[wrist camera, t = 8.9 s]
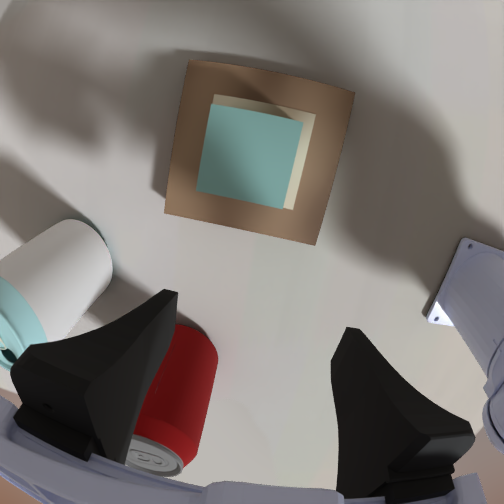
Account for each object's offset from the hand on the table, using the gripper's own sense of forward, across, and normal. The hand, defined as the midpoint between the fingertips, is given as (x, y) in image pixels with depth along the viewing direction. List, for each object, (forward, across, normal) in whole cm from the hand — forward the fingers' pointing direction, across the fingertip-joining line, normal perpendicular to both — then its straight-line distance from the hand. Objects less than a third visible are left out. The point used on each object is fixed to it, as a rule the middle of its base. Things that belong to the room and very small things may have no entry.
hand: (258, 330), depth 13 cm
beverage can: (+11, +5, +12) cm, 17 cm away
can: (+11, +15, +5) cm, 19 cm away
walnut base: (+10, +2, -6) cm, 12 cm away
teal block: (+8, +2, -6) cm, 11 cm away
